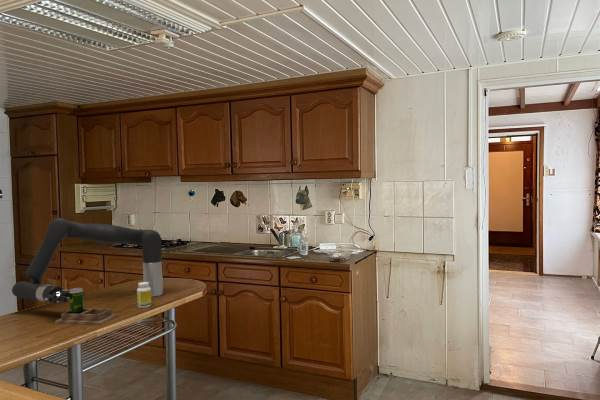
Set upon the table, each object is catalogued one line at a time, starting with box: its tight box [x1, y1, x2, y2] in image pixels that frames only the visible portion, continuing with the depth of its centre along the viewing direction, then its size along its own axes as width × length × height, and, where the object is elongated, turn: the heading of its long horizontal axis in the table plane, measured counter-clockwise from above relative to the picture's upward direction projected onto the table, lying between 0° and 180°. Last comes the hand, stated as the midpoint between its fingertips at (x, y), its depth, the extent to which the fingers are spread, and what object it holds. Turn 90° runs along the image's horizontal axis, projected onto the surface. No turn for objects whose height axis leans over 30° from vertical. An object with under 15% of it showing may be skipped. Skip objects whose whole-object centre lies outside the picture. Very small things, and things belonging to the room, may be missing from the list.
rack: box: [54, 307, 118, 326], centre depth 189 cm, size 21×12×4 cm, turn 81°
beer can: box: [68, 287, 85, 314], centre depth 190 cm, size 5×5×12 cm
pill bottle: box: [136, 281, 152, 309], centre depth 207 cm, size 6×6×11 cm
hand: (75, 297), depth 190 cm, fingers open, 8 cm apart
